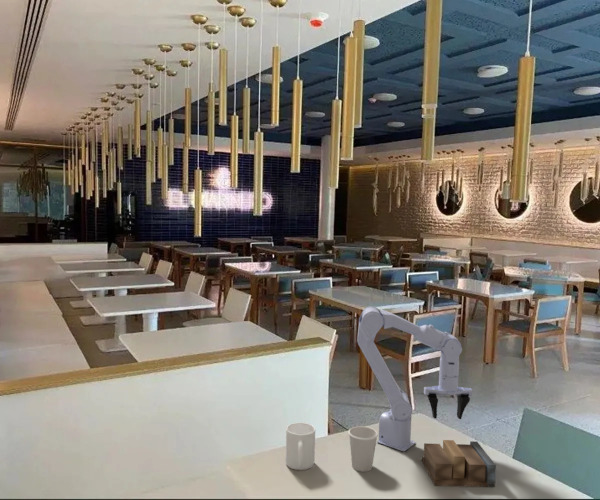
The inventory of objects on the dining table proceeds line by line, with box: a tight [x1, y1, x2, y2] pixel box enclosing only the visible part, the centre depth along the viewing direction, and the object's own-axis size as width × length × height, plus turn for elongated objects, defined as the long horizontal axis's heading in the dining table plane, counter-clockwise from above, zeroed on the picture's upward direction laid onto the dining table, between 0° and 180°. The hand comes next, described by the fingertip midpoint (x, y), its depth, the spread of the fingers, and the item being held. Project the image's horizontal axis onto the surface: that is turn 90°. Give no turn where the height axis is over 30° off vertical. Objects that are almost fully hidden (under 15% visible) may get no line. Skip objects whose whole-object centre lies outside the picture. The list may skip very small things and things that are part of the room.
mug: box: [285, 422, 316, 471], centre depth 141 cm, size 12×8×10 cm
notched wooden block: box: [421, 440, 497, 488], centre depth 140 cm, size 16×14×6 cm
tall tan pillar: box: [442, 439, 465, 478], centre depth 140 cm, size 3×10×6 cm, turn 0°
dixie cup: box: [347, 425, 379, 473], centre depth 142 cm, size 8×8×10 cm
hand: (446, 417), depth 155 cm, fingers open, 7 cm apart
